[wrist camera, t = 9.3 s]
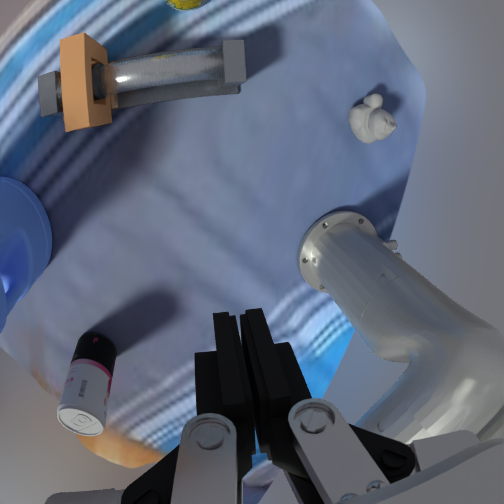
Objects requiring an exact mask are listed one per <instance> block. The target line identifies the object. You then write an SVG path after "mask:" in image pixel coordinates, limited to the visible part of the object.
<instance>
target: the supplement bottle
mask: <svg viewBox="0 0 504 504" xmlns="http://www.w3.org/2000/svg"><path fill="white" fill-rule="evenodd" d="M165 1H166V3H167V4H168V5H169V6H170V7H172V8H174V9H176V10H179V11H190V10H194V9H197V8H199V7H200V6H202V5H203V4H204V3H205V2H206V1H207V0H165Z"/></svg>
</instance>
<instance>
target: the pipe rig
mask: <svg viewBox="0 0 504 504" xmlns="http://www.w3.org/2000/svg"><path fill="white" fill-rule="evenodd" d="M91 72H92V88H93V101H97V100H101V99H105V98H106V97H107V95H110V104H111V111H112V110H117V109H122V108H127V107H132V106H138V105H144V104H150V103H156V102H163V101H170V100H177V99H185V98H194V97H204V96H215V95H228V94H239V93H238V86H239V85H241V84H243V83H245V82H246V65H245V50H244V40H223V41H222V43H221V45H220V46H217V47H203V48H192V49H182V50H174V51H166V52H159V53H153V54H147V55H141V56H135V57H130V58H125V59H120V60H115V61H111V62H108V65H105V66H104V65H103V64H102V63H101V64H97V65H93V66H91ZM38 89H39V103H40V115H41V117H50V116H62V122H64V112H63V101H62V87H61V72H57V71H53V72H50V73H47V74H44V75H41V76H38Z"/></svg>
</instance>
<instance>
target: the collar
mask: <svg viewBox="0 0 504 504" xmlns="http://www.w3.org/2000/svg"><path fill="white" fill-rule="evenodd" d="M101 63H102V64H103V65H104V66H105V65H108V58H107V49H106V48H104V47H103V46H102V45H100V44H99V43H98V42H96V41H95V40H94V39H92V38H91V37H90V36H88V35H87V34H86V33H80V34H77V35H74V36H70V37H67V38H64V39H61V40H60V65H61V87H62V101H63V112H64V122H65V131H66V132H68V131H74V130H79V129H85V128H91V127H96V126H100V125H105V124H109V123H112V115H111V104H110V95H107V97H106V98H105V99H101V100H97V101H93V88H92V72H91V66H93V65H97V64H101Z"/></svg>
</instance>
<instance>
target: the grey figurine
mask: <svg viewBox="0 0 504 504" xmlns="http://www.w3.org/2000/svg"><path fill="white" fill-rule="evenodd" d="M382 103H383V98H382V96H381V95H380V94H377V93H375V94H372V95H367V96H366V97H365V98H364V101H363V104H360V105H358V106H355V107H352V108H351V109H350V113H349V123H350V126H351V130H352V131H353V133H354V134H355V136H356V137H357V138H358V139H359V140H360V141H362V142H364V143H373V142H374V141H376V140H382V139H384V138H386V137H387V136H388V135H390V134H391V133H392V132H393V131H394V129H395V128H396V127H397V125H396V122H395V120H394V118H393V116H392V115H391V114H389V113H388V112H386V111H385V110H383V109H381V107H382Z"/></svg>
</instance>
